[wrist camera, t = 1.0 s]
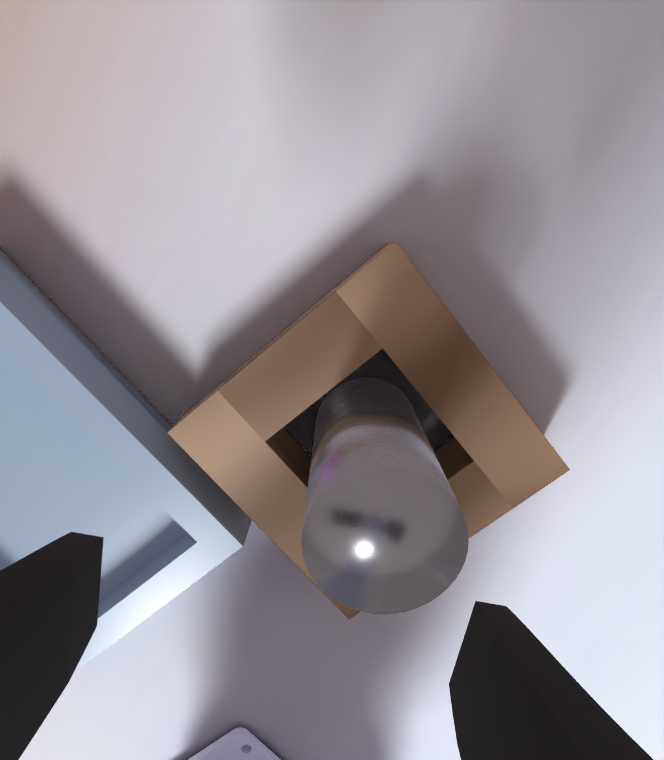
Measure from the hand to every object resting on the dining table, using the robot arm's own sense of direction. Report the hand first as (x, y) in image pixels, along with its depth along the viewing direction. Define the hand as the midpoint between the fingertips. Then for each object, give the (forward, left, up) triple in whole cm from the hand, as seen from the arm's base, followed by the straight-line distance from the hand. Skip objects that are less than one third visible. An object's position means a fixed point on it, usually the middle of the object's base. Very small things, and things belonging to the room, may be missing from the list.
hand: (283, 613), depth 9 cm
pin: (-2, -2, -10) cm, 11 cm away
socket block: (-2, -2, -10) cm, 11 cm away
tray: (+5, +10, -10) cm, 16 cm away
